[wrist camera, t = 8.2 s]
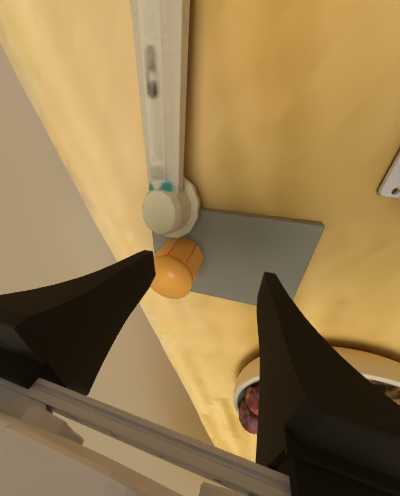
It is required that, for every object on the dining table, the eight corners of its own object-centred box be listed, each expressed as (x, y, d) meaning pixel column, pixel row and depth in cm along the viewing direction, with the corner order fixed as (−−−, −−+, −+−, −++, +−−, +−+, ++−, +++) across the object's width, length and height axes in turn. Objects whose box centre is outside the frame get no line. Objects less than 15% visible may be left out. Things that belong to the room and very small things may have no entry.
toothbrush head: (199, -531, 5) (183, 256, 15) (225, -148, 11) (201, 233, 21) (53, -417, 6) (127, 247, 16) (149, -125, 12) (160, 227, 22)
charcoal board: (321, 222, 17) (340, 244, 14) (286, 306, 24) (292, 337, 20) (153, 202, 21) (131, 214, 17) (160, 279, 27) (146, 301, 23)
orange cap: (208, 248, 21) (197, 274, 17) (195, 276, 24) (182, 305, 19) (170, 230, 21) (149, 252, 17) (161, 261, 24) (141, 286, 20)
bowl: (485, 338, 19) (604, 438, 13) (419, 445, 32) (461, 522, 25) (219, 329, 30) (210, 381, 23) (249, 412, 43) (248, 461, 36)
